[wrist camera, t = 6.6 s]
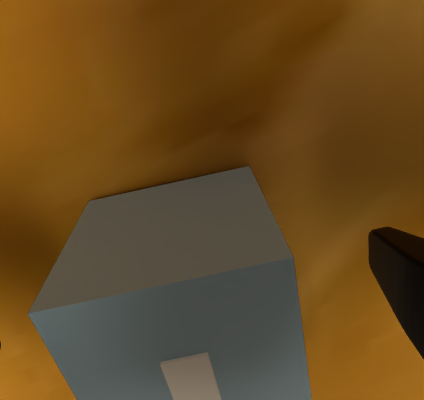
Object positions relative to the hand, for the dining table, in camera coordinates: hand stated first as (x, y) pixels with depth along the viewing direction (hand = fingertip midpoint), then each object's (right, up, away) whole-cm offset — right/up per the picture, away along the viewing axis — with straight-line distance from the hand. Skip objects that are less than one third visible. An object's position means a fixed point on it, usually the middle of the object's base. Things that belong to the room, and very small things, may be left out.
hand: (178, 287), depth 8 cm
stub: (0, -1, +5) cm, 5 cm away
